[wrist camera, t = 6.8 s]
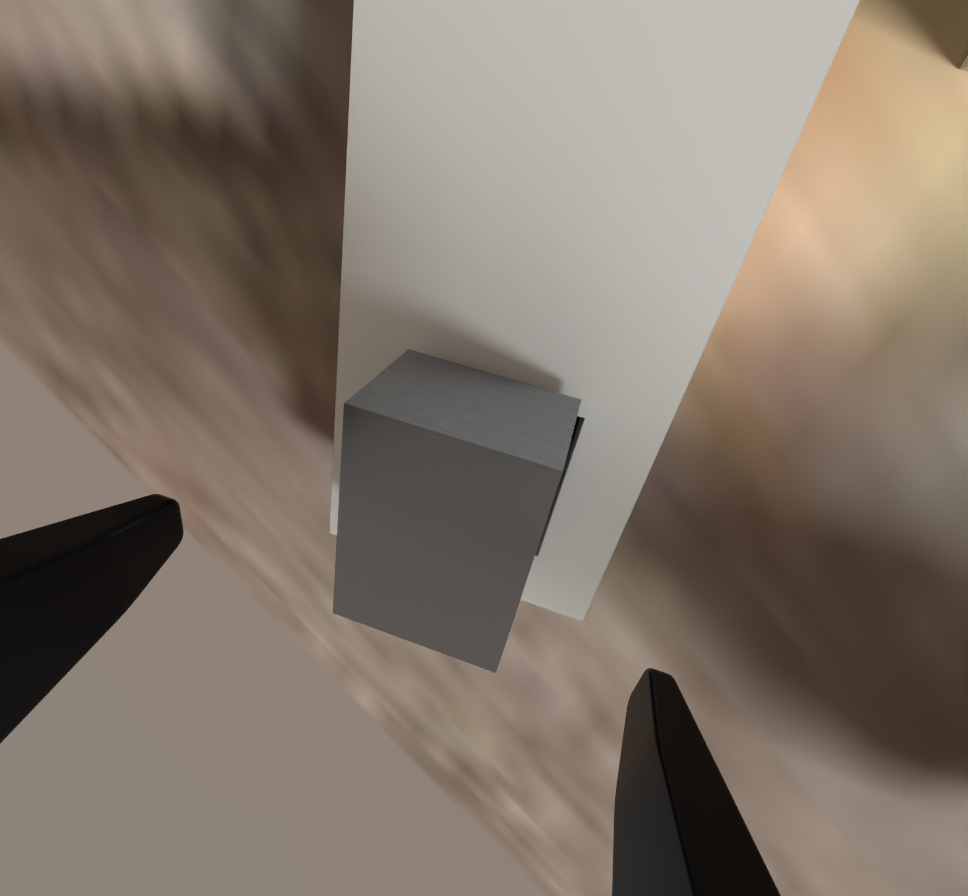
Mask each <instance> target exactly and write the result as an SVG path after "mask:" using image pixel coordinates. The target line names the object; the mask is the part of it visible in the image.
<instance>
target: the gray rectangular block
mask: <svg viewBox="0 0 968 896" xmlns="http://www.w3.org/2000/svg"><path fill="white" fill-rule="evenodd" d="M580 403H581V399H577V398H574V397H571V396H567V395H564V394H560V393H557V392H553V391H550V390H547V389H543V388H540V387H536V386H533V385H529V384H526V383H523V382H519V381H516V380H512V379H509V378H505V377H502V376H499V375H495V374H492V373H488V372H485V371H482V370H478V369H475V368H471V367H468V366H464V365H461V364H458V363H454V362H451V361H447V360H444V359H440V358H437V357H434V356H430V355H427V354H423V353H420V352H416V351H413V350H410V349H408V350H407V351H406V352H405V353H404V354H402V355H401V356H400V357H399V358H398V359H396V360H395V361H394V362H393V363H392V364H390V365H389V366H388V367H387V368H386V369H384V370H383V371H382V372H381V373H380V374H378V375H377V376H376V377H375V378H374V379H372V380H371V381H370V382H369V383H367V384H366V385H365V386H364V387H363V388H361V389H360V390H359V391H358V392H357V393H355V394H354V395H353V396H352V397H351V398H349V399H348V400H347V401H346V402H345V403H344V410H343V430H342V449H341V468H340V487H339V506H338V525H337V544H336V563H335V583H334V602H333V613H335V614H337V615H340V616H343V617H345V618H348V619H351V620H354V621H356V622H359V623H362V624H365V625H367V626H370V627H373V628H375V629H378V630H381V631H384V632H386V633H389V634H392V635H394V636H397V637H400V638H403V639H405V640H408V641H411V642H413V643H416V644H419V645H422V646H424V647H427V648H430V649H432V650H435V651H438V652H441V653H443V654H446V655H449V656H452V657H454V658H457V659H460V660H462V661H465V662H468V663H471V664H473V665H476V666H479V667H481V668H484V669H487V670H490V671H492V672H495V673H496V671H497V668H498V665H499V662H500V659H501V656H502V653H503V650H504V647H505V644H506V641H507V638H508V635H509V632H510V629H511V626H512V623H513V620H514V617H515V614H516V611H517V608H518V605H519V602H520V599H521V596H522V593H523V590H524V587H525V584H526V581H527V578H528V575H529V572H530V569H531V566H532V563H533V560H534V557H535V554H536V551H537V548H538V545H539V542H540V539H541V536H542V533H543V530H544V527H545V524H546V521H547V518H548V515H549V512H550V509H551V506H552V503H553V500H554V497H555V494H556V491H557V488H558V485H559V482H560V479H561V476H562V473H563V469H564V465H565V461H566V458H567V454H568V450H569V446H570V442H571V438H572V434H573V430H574V426H575V423H576V419H577V415H578V411H579V407H580Z"/></svg>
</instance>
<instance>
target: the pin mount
mask: <svg viewBox="0 0 968 896" xmlns="http://www.w3.org/2000/svg"><path fill="white" fill-rule="evenodd" d="M960 69H961V70H966V71H968V55H967V57H966V58H965V60H964V62H963V64H962V66H961V67H960Z"/></svg>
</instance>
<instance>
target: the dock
mask: <svg viewBox="0 0 968 896" xmlns="http://www.w3.org/2000/svg"><path fill="white" fill-rule="evenodd" d="M859 1H860V0H354V8H353V30H352V52H351V74H350V96H349V118H348V140H347V162H346V184H345V206H344V229H343V251H342V273H341V295H340V317H339V339H338V361H337V383H336V405H335V427H334V449H333V471H332V493H331V515H330V533H331V534H334V535H337V525H338V506H339V487H340V468H341V449H342V430H343V410H344V403H345V402H346V401H347V400H348V399H349V398H351V397H352V396H353V395H354V394H355V393H357V392H358V391H359V390H360V389H361V388H363V387H364V386H365V385H366V384H367V383H369V382H370V381H371V380H372V379H374V378H375V377H376V376H377V375H378V374H380V373H381V372H382V371H383V370H384V369H386V368H387V367H388V366H389V365H390V364H392V363H393V362H394V361H395V360H396V359H398V358H399V357H400V356H401V355H402V354H404V353H405V352H406V351H407V350H408V349H410V350H413V351H416V352H420V353H423V354H427V355H430V356H434V357H437V358H440V359H444V360H447V361H451V362H454V363H458V364H461V365H464V366H468V367H471V368H475V369H478V370H482V371H485V372H488V373H492V374H495V375H499V376H502V377H505V378H509V379H512V380H516V381H519V382H523V383H526V384H529V385H533V386H536V387H540V388H543V389H547V390H550V391H553V392H557V393H560V394H564V395H567V396H571V397H574V398H577V399H581V403H580V407H579V411H578V415H577V416H579V417H580V418H579V421H578V424H577V427H576V430H575V433H574V436H573V439H572V442H571V445H570V448H569V451H568V454H567V458H566V461H565V465H564V469H563V473H562V476H561V479H560V482H559V485H558V488H557V491H556V494H555V497H554V500H553V503H552V506H551V509H550V512H549V515H548V518H547V521H546V524H545V527H544V530H543V533H542V536H541V539H540V542H539V545H538V548H537V551H536V554H535V557H534V560H533V563H532V566H531V569H530V572H529V575H528V578H527V581H526V584H525V587H524V590H523V593H522V596H521V599H520V600H523V601H526V602H528V603H531V604H534V605H537V606H540V607H543V608H546V609H548V610H551V611H554V612H557V613H560V614H563V615H566V616H568V617H571V618H574V619H577V620H580V621H583V620H584V617H585V615H586V613H587V611H588V608H589V606H590V604H591V602H592V599H593V597H594V595H595V593H596V590H597V588H598V586H599V584H600V581H601V579H602V577H603V575H604V572H605V570H606V568H607V566H608V563H609V561H610V559H611V557H612V555H613V552H614V550H615V548H616V546H617V543H618V541H619V539H620V537H621V534H622V532H623V530H624V528H625V525H626V523H627V521H628V519H629V516H630V514H631V512H632V510H633V507H634V505H635V503H636V501H637V498H638V496H639V494H640V492H641V490H642V487H643V485H644V483H645V481H646V478H647V476H648V474H649V472H650V469H651V467H652V465H653V463H654V460H655V458H656V456H657V454H658V451H659V449H660V447H661V445H662V442H663V440H664V438H665V436H666V433H667V431H668V429H669V427H670V425H671V422H672V420H673V418H674V416H675V413H676V411H677V409H678V407H679V404H680V402H681V400H682V398H683V395H684V393H685V391H686V389H687V386H688V384H689V382H690V380H691V377H692V375H693V373H694V371H695V368H696V366H697V364H698V362H699V360H700V357H701V355H702V353H703V351H704V348H705V346H706V344H707V342H708V339H709V337H710V335H711V333H712V330H713V328H714V326H715V324H716V321H717V319H718V317H719V315H720V312H721V310H722V308H723V306H724V304H725V301H726V299H727V297H728V295H729V292H730V290H731V288H732V286H733V283H734V281H735V279H736V277H737V274H738V272H739V270H740V268H741V265H742V263H743V261H744V259H745V256H746V254H747V252H748V250H749V247H750V245H751V243H752V241H753V239H754V236H755V234H756V232H757V230H758V227H759V225H760V223H761V221H762V218H763V216H764V214H765V212H766V209H767V207H768V205H769V203H770V200H771V198H772V196H773V194H774V191H775V189H776V187H777V185H778V182H779V180H780V178H781V176H782V174H783V171H784V169H785V167H786V165H787V162H788V160H789V158H790V156H791V153H792V151H793V149H794V147H795V144H796V142H797V140H798V138H799V135H800V133H801V131H802V129H803V126H804V124H805V122H806V120H807V117H808V115H809V113H810V111H811V109H812V106H813V104H814V102H815V100H816V97H817V95H818V93H819V91H820V88H821V86H822V84H823V82H824V79H825V77H826V75H827V73H828V70H829V68H830V66H831V64H832V61H833V59H834V57H835V55H836V52H837V50H838V48H839V46H840V44H841V41H842V39H843V37H844V35H845V32H846V30H847V28H848V26H849V23H850V21H851V19H852V17H853V14H854V12H855V10H856V8H857V5H858V3H859Z"/></svg>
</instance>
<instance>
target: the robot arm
mask: <svg viewBox="0 0 968 896" xmlns="http://www.w3.org/2000/svg"><path fill="white" fill-rule="evenodd" d="M182 537H183V525H182V518H181V512H180V506H179V504H178V502H177V501H176V500H174V499H171V498H169V497H166V496H163V495H159V494H153V495H149V496H145V497H142V498H139V499H135V500H132V501H129V502H125V503H122V504H118V505H115V506H111V507H108V508H105V509H101V510H98V511H94V512H91V513H88V514H84V515H81V516H77V517H74V518H70V519H67V520H64V521H61V522H57V523H53V524H50V525H47V526H43V527H40V528H36V529H33V530H30V531H26V532H23V533H20V534H16V535H12V536H9V537H6V538H2V539H0V743H1V742H2V741H3V740H4V739H5V738H6V737H7V736H8V735H9V734H10V733H11V732H12V731H13V730H14V728H15V727H16V726H17V725H18V724H19V723H20V722H21V721H22V720H23V719H24V718H25V717H26V716H27V715H28V714H29V713H30V712H31V711H32V710H33V709H34V707H36V705H37V704H38V703H39V702H40V701H41V700H42V699H43V698H44V697H45V696H46V695H47V694H48V693H49V692H50V691H51V690H52V689H53V688H54V687H55V686H56V684H57V683H58V682H59V681H60V680H61V679H62V678H63V677H64V676H65V675H66V674H67V673H68V672H69V671H70V670H71V669H72V668H73V666H75V664H77V662H78V661H79V660H80V659H81V658H82V657H83V656H84V655H85V654H86V653H87V652H88V651H89V650H90V649H91V648H92V646H94V645H95V644H96V643H97V641H98V640H99V639H100V638H101V637H102V636H103V635H104V634H105V633H106V632H107V631H108V630H109V629H110V628H111V627H112V626H113V625H114V624H115V623H116V621H117V620H118V619H119V618H120V617H121V616H122V615H123V614H124V613H125V612H126V611H127V609H128V608H129V607H130V606H131V605H132V603H133V602H134V601H135V600H136V599H137V597H138V596H139V595H140V594H141V592H142V591H143V590H144V588H145V587H146V586H147V585H148V583H149V582H150V581H151V580H152V578H153V577H154V576H155V574H156V573H157V572H158V571H159V569H160V568H161V567H162V566H163V564H164V563H165V562H166V561H167V559H168V558H169V557H170V556H171V554H172V553H173V552H174V550H175V549H176V548H177V547H178V545H179V544H180V542H181V540H182ZM612 896H780V894H779V891H778V889H777V887H776V885H775V883H774V881H773V879H772V877H771V875H770V873H769V871H768V869H767V867H766V865H765V863H764V861H763V859H762V857H761V855H760V853H759V851H758V849H757V847H756V845H755V843H754V840H753V838H752V836H751V834H750V832H749V830H748V828H747V826H746V824H745V822H744V820H743V818H742V816H741V814H740V812H739V810H738V808H737V806H736V804H735V802H734V800H733V798H732V796H731V794H730V791H729V789H728V787H727V785H726V783H725V781H724V779H723V777H722V775H721V773H720V771H719V769H718V767H717V765H716V763H715V761H714V759H713V757H712V755H711V753H710V751H709V749H708V747H707V745H706V742H705V740H704V738H703V736H702V734H701V732H700V730H699V728H698V726H697V724H696V722H695V720H694V718H693V716H692V714H691V712H690V710H689V708H688V706H687V704H686V702H685V700H684V698H683V696H682V693H681V691H680V689H679V687H678V685H677V683H676V681H675V680H674V678H673V677H672V676H671V675H669V674H667V673H664V672H661V671H658V670H656V669H653V668H648V669H647V670H645V672H644V673H643V675H642V677H641V678H640V680H639V682H638V683H637V685H636V687H635V688H634V690H633V692H632V694H631V696H630V698H629V701H628V706H627V712H626V719H625V727H624V734H623V742H622V749H621V757H620V764H619V772H618V779H617V787H616V796H615V810H614V843H613V884H612Z"/></svg>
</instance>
